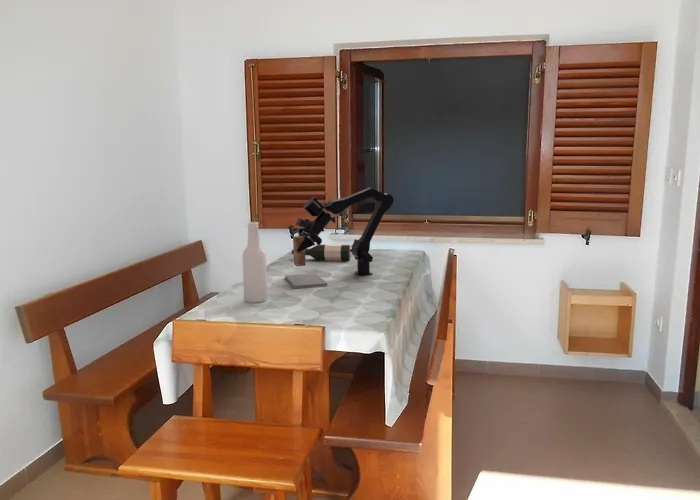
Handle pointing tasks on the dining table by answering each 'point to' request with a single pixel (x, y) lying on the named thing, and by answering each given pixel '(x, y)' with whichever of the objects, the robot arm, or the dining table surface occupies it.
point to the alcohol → (254, 267)
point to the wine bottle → (329, 252)
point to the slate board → (305, 280)
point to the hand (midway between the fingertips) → (296, 250)
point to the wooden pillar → (298, 256)
